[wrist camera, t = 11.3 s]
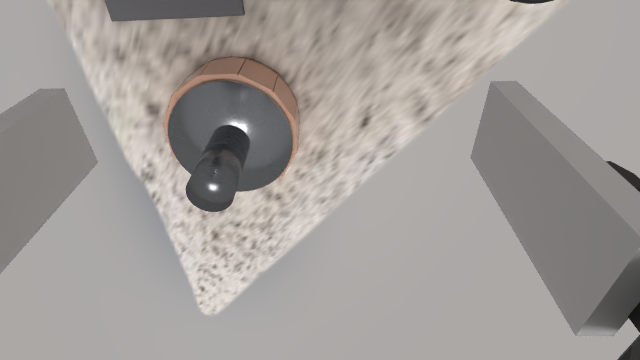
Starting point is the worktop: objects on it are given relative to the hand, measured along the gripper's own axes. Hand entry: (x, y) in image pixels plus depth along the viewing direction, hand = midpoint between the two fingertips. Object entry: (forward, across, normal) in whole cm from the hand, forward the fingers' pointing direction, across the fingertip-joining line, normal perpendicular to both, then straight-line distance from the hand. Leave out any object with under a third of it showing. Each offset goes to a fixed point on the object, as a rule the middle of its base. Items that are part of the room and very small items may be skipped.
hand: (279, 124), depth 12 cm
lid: (+20, -7, -12) cm, 24 cm away
